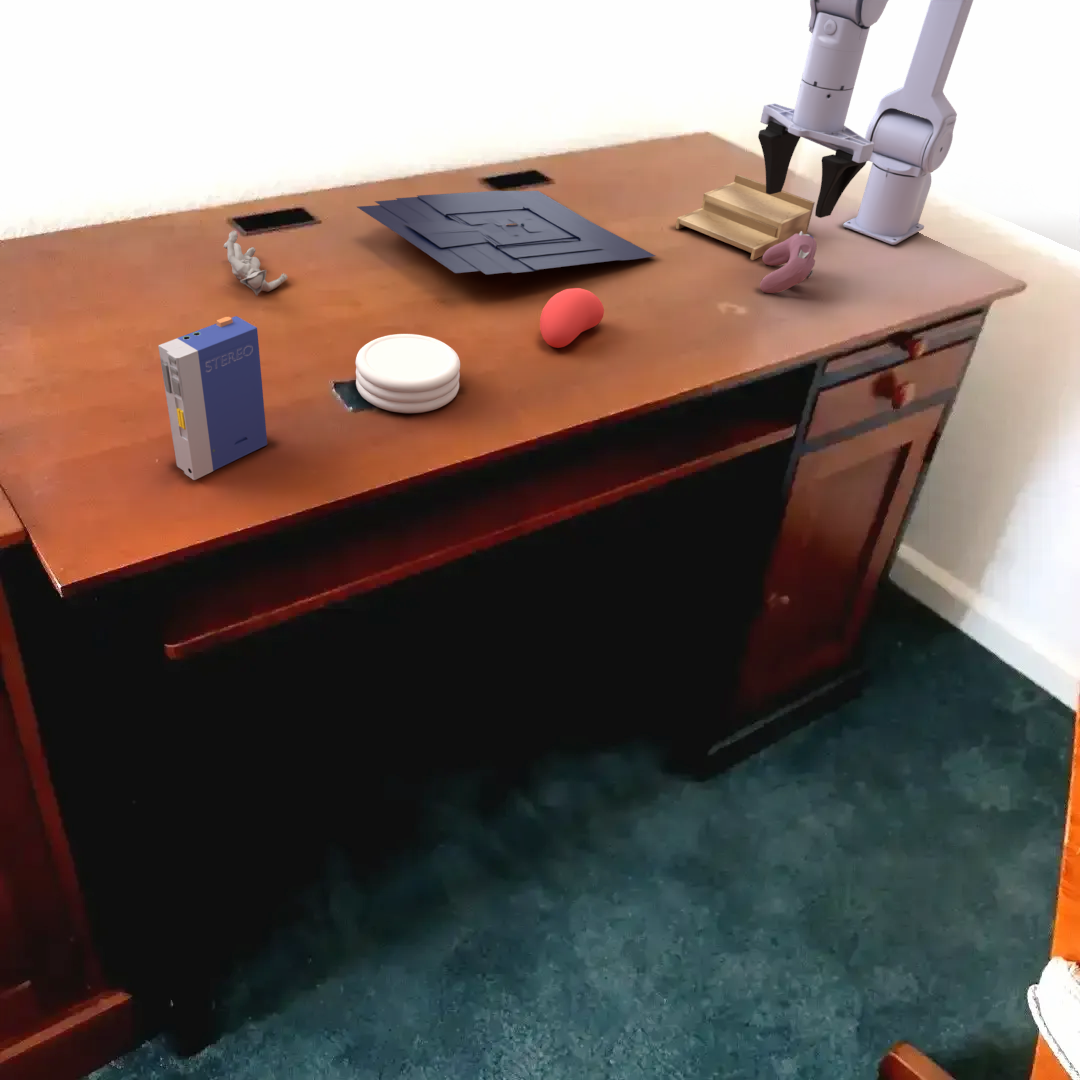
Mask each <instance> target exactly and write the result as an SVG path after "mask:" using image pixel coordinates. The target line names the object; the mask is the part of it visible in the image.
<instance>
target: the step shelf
mask: <svg viewBox="0 0 1080 1080" xmlns="http://www.w3.org/2000/svg"><path fill="white" fill-rule="evenodd" d="M815 204H816V203H815V201H812V200H809V199H806V198H805V197H801V196H799V195H796V194H793V193H790V192H788V191H785V190H783V189H782V190H781V192H778V193H774V194H767V193H766V183H763V182H760V181H758V180H755V179H753V178H751V177H747V176H744V175H741V174H739V173H735V175H734V180H733V181H732V182H729V183H728V184H724V185H722V186H719V187H717V188H714V189H712V190H709V191H707V192H704V193H703V196H702V202H701V207H700V208H698V209H695V210H693V211H690V212H688V213H685V214H683V215H681V216H678V217H676V223H675V229H676V230H680V229H682V228H685V227H686V228H688V229H692V230H694V231H697V232H698V233H701V234H704V235H706V236H709V237H711V238H714V239H716V240H719V241H720V242H724V243H726V244H728V245H731V246H734V247H736V248H738V249H740V250H743V251H744V252H745V251H746V252H748V253H750V260H751V261H755V260H757V259H759V258H761V257H763V255H764V253H765V252H766V251H767V250H768V249H769V248H770V247H772V246H774V245H776V244H779V243H781V242H783V241H785V240H787V239H788V238H790V237H791V236H793V235H794V234H796V233H797V234H799V233H800V232H801V231H802V232H803V234H808V231H809V226H810V222H811V218H812V216H813V215H812V214H813V211H814V208H815V207H814V206H815Z"/></svg>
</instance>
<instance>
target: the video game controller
mask: <svg viewBox="0 0 1080 1080" xmlns="http://www.w3.org/2000/svg"><path fill="white" fill-rule="evenodd" d="M817 245H818V244H817V241H816V239H815V238H814V236H812V235H810V234H809V233H807V234H803V232H802V231H801V232H800V233H799V234H797V233H796V234H794V235H793V236H791V237H790V238H788V239H787V240H785V241H783V242H781V243H779V244H776V245H774V246H772V247H770V248H769V249H768V250H767V251H766V252H765V253H764V255H763V256H762V262H763V263H764V264H765V265H766V266H771V267H773V266H780V265H783V266H781V267H779V268H778V269H775V270H773V271H772V272H770V273H768V274H766V275H765V276H764V277H763V278H762V279H761V281H760V283H759V288H760V290H761V291H762V292H763V293H764V294H778V293H781V292H783V291H786V290H788V289H791V288H792V287H794V286H795V285H798V284H801V283H802V282H803V281H804V280H805V279H806V280H809V279H810V278H812V277H813V275H814V270H813V268H814V267H815V264H816V260H815V255H816V252H817Z"/></svg>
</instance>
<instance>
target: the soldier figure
mask: <svg viewBox="0 0 1080 1080" xmlns="http://www.w3.org/2000/svg"><path fill="white" fill-rule="evenodd" d="M238 236H239V235H238V231H237V230H231V231H230V232H229V234H228V239H227V241H226V242H224V244H223V248H224V249H227V254H226V255H227V262H228V263H229V264H230V265H231V268H232V269H231V272H232V274H233V275H234V277H236V279H237V280H239V282H240V283H241V284H243V285H245V286H247V287H248V289H251V290H252V291H253V293H254V295H255V296H258V295H259V294H260V293H261V292H266V293H268V292H271V291H272V290H275V289H277V288H278V287H279V286H280V285H282V283H284V282H286V280H287V279H288V278H289V277H288V276H287V275H288V274H286V273H284V272H282V273H281V275H280V276H279V277H278V278H276V279H274V280H271V281H269V282H268V281H267V280H266V277H267V269H264V270H263V269H262V270H261V269H260V267H261V264H262V263H261V261H260V259H259V258H258V257H256V256H255V254H256V248H255V247H253V246H252V247H249V248H248V249H247V250H246V252H245V253H243V251H242V246H241V245H240V244H239V243H237V241H238Z"/></svg>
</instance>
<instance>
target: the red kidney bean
mask: <svg viewBox="0 0 1080 1080" xmlns="http://www.w3.org/2000/svg"><path fill="white" fill-rule="evenodd" d="M604 314H605V308H604V305H603V303H602V301H601V300H600V298H599V297H598V296H597V295H596V294H594V293H593V292H591V291H590V290H587V289H584V288H580V287H573V288H566V289H563V290H560V291H558V292H557V293H555V294H554V295H553V296H552V297H551V298H549V299H548V301H547V302H546V304H545V305H544V307H542V310H541V313H540V318H539V329H540V333H541V336H542V339H543V340H544V342H545V343H546V344H547V345H548V346H550V347H552V348H555V349H556V348H557V349H559V348H565V347H566V346H568V345H570V344H571V343H572V342H573V341H574V340H575V339H576V338H577V337H579V335H580V334H581V333H583V332H585V331H588V330H590V329H591V328H594V327H596V326H597V325H598V324H600V323H601V321H602V320H603V318H604V316H605V315H604Z"/></svg>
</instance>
